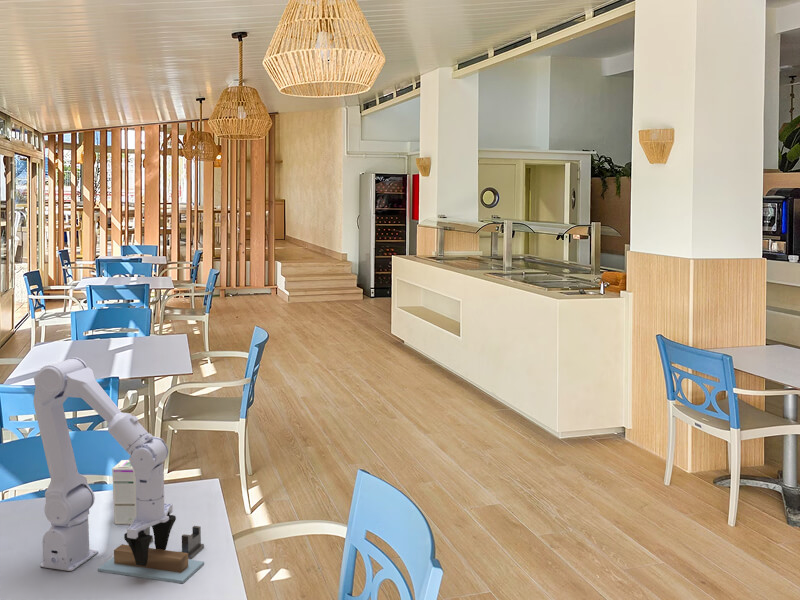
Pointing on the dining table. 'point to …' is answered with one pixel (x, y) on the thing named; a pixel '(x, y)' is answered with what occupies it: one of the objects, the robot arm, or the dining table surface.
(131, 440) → the robot arm
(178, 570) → the rail
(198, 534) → the bracket
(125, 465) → the syrup box
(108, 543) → the dining table surface
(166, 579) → the mat
